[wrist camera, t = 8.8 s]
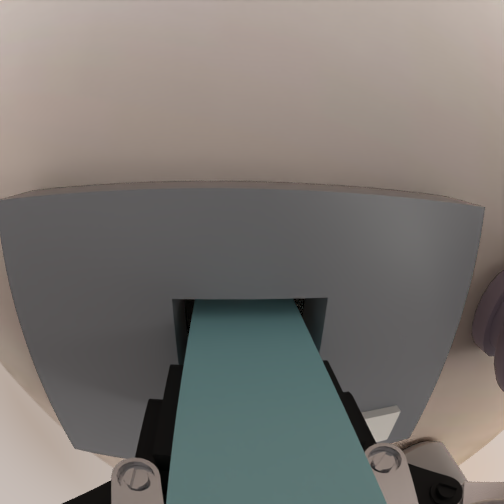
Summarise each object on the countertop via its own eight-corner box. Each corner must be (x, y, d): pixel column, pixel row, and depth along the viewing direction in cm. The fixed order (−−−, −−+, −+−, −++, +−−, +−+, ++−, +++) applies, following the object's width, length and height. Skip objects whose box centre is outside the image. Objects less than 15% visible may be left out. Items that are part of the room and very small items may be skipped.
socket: (445, 196, 13) (492, 209, 10) (391, 408, 17) (412, 443, 14) (34, 190, 11) (-11, 202, 8) (88, 415, 16) (72, 454, 12)
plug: (292, 297, 13) (396, 525, 3) (283, 387, 14) (332, 575, 5) (195, 298, 12) (162, 552, 3) (201, 389, 14) (196, 587, 4)
